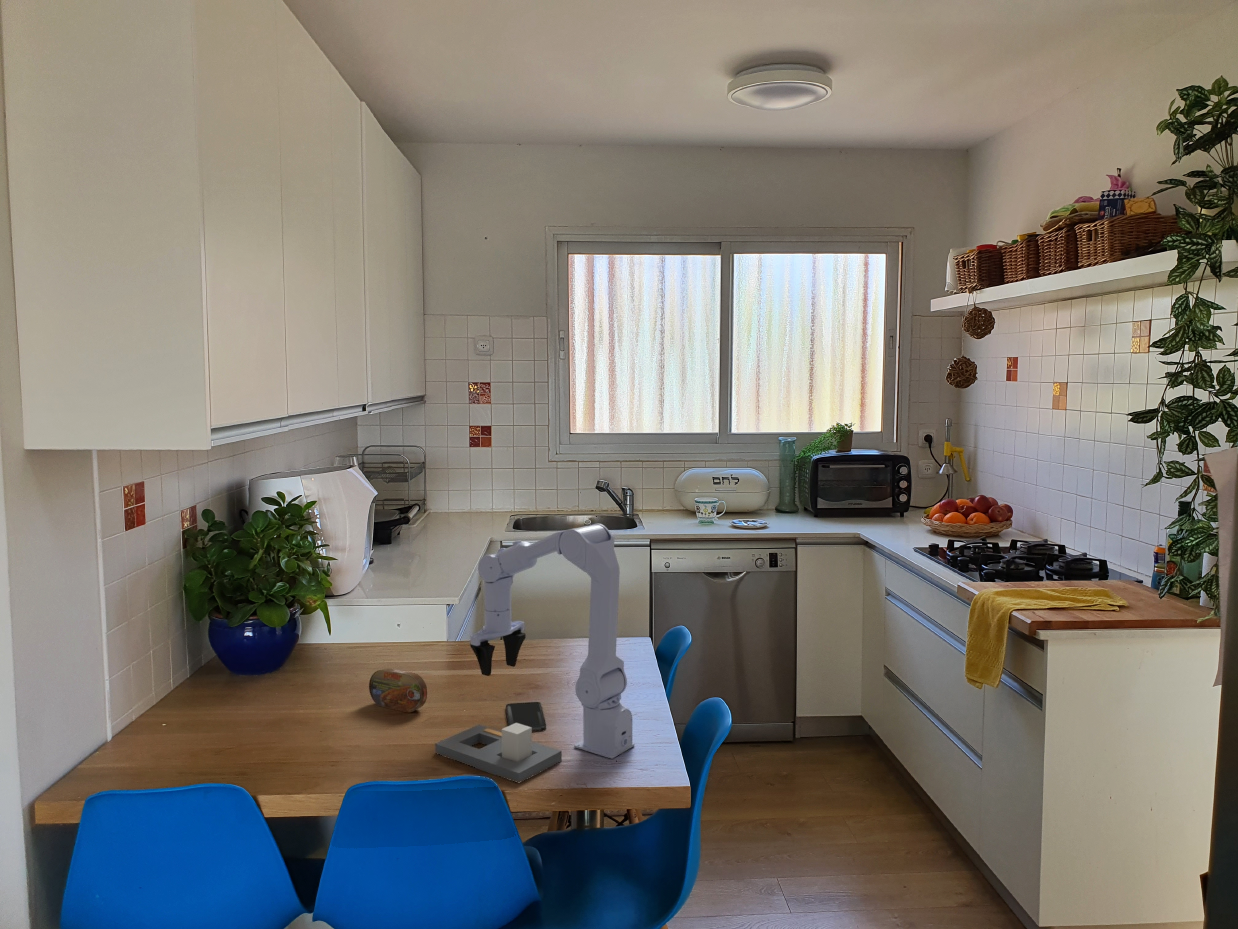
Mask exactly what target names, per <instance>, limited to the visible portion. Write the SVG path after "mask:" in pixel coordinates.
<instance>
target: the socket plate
mask: <svg viewBox="0 0 1238 929" xmlns="http://www.w3.org/2000/svg"><path fill="white" fill-rule="evenodd" d="M479 742H480V743H479ZM482 743H483V744H482ZM474 744H475V745H477V744H482V745H485V744H487V745H485V746H483V747H482V748H477V747H474V746H475V745H474ZM472 745H473V746H472ZM434 749H435V751H434V753H438V754H440V755H439V756H441V755H442V756H441V757H444V756H446V757H449V758H451V759H450V760H452V759H454V760H453V761H455V760H457V761H460V762H462V763H461V764H463V763H465V764H464V765H466V764H467V765H466V766H468V765H470V766H469V767H471V766H473V767H472V768H474V767H475V768H474V769H478V770H480V771H483V772H485V773H488V774H491V775H494V776H496V775H498V776H497V777H499V776H501V777H500V778H502V777H505V778H508V779H511V780H514V781H517V782H520V781H523V780H525V779H527V778H529V777H531V776H532V775H534V776H536V775H538V774H540V773H541V772H540V771H542V772H544V771H546V770H547V769H549V768H551V767H553V766H554V764H555V765H557V764H558V762H559V763H560V762H562V760H563V759H562V756H563V755H562V754H563V753H562V750H560V749H557V748H555V747H551V746H548V745H544V744H543V743H538V742H536V741H533V740H532V756H530V757H528V758H526V759H524V760H522V761H520V762H515V761H512V760H509V759H506V758H503V757H502V730H498V729H495V728H492V727H489V726H486V725H482V724H477V725H474V726H473V727H469V728H468V729H465V730H464V731H461V732H459V733H457V734H454V735H452V736H449V737H447V738H444V739H443V740H440V741H438V742H435V743H434ZM438 754H437V755H438ZM446 757H445V758H446ZM449 758H448V759H449ZM457 761H456V762H457ZM460 762H459V763H460ZM556 763H557V764H556ZM548 767H549V768H548ZM546 768H547V769H546ZM545 769H546V770H545ZM543 770H544V771H543ZM539 772H540V773H539ZM537 773H538V774H537ZM535 774H536V775H535ZM531 778H532V777H531ZM529 779H530V778H529ZM527 780H528V779H527ZM525 781H526V780H525ZM523 782H524V781H523Z"/></svg>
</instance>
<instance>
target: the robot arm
mask: <svg viewBox="0 0 1238 929" xmlns="http://www.w3.org/2000/svg"><path fill="white" fill-rule="evenodd" d="M615 538H616V537H615V536H614V534H613V533H612V532H611V531H610V530H609V529H608V528H607V526H606V525H604V524H603V523H592V524H591V525H584V526H580V527H574V528H569V529H565V530H561V531H560V530H559V531H556V532H554V533H552V534H550V535H548V536H545V537H544V538H542V539H539V540H537V541H535V542H534V543H530V542H529V541H524V540H523V541H522V540H515V541H513V542H512V546H509V547H501V548H498V550H497V553H492V554H485V555H484V556H482V557H481V558H480V559H479V562H478V564H477V571H478V574H479V576H480V578H481V579H482V580H483V588H484V590H483V592H484V596H483V597H484V603H483V604H484V625H483V626H482V629H480V630H479V631H477V632H476V633H474V634H471V635H470V644H469V645H470V648H471V650H472V651H473V653H474V655H475V657H476V660H477V662H478V665H479V668H480V673H481V675H483V676H486V677H490V676H492V675H491V674H492V668H493V667H492V665H493V664H492V662H493V655H494V651H495V649H496V646H495V645H492V644H490V641H493V640H496V639H499V638H502V640H503V645H504V649H505V652H504V653H505V663H506V666H509V667H513V668H514V667H516V666H517V661H518V656H519V653H520V651H521V647H522V645H523V643H524V642H525V639H526V637H527V636H526V633H525V632H524V631H525V627H526V626H525V621H522V620H516V621H515V620H514V621H512V585H513V583H514V577H515V575H517V574H519V573H521V572H524V571H527V570H529V569H532V568H533V567H535V566H536V565H537V562H538V559H539V558H542V557H545V556H548V555H550V554H554V553H557V554H558V555H559V556H561V555H562V556H563V557H564V558H565V559H566V561H569V562H570V563H571V564H573V565H574V566H576V567H577V569H578V568H579V569H580V570H581V571H582V572H584V573H586V574H587V575H588V576H589V578H590V597H589V598H590V599H589V621H588V622H589V623H588V642H587V643H588V647H587V651H588V652H587V653H588V654H587V656H586V658H585V660H584V661H583V662H582V664H581V666H580V669H579V676H578V678H577V680H576V682H575V687H574V688H575V690H574V691H575V695H576V697H577V699H578V701H579V702H580V704H581V706H582V707H583V710H582V711H583V714H582V715H583V717H582V719H583V728H582V729H583V730H582V731H583V733H582V734H583V738H582V740H580V741H578V742H576V743H574V744H573V747H574V748H576V749H579V750H582V751H586V752H589V753H592V754H595V755H597V756H602V757H605V758H607V759H614V758H615V757H617V756H618V755H620V754H622V753H624V752H626V751H628V750H630V749H632V747H635V746H636V744H635V742H633V714H632V711H631V710H630V709H628V708H626V707H624V706H623V705H622V704H621V702H620V701H621V700H622V694H623V693H624V692H625V691H626V688H627V686H628V678H627V675H626V672H625V668H624V666H625V661H624V660H623V659H622V658H620V657H619V656H618V655H617V637H618V615H619V612H618V611H619V594H620V593H619V591H620V573H621V572H620V565H619V562H618V561H619V560H618V558H617V556H616V555H617V554H616V552H615Z"/></svg>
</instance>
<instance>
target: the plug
mask: <svg viewBox="0 0 1238 929" xmlns="http://www.w3.org/2000/svg"><path fill="white" fill-rule="evenodd" d="M501 732H502V757H503V758H506V759H509V760H512V761H515V762H520V761H522V760H524V759H526V758H528V757H530V756H532V741H533V734H532V733H533V732H532V727H528V726H525V725H522V724H519V723H514V724H512V725H510V726H508V725H507V726H506V727H503V728H502V729H501Z"/></svg>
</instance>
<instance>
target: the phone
mask: <svg viewBox="0 0 1238 929" xmlns="http://www.w3.org/2000/svg"><path fill="white" fill-rule="evenodd" d="M505 712H506V718H507V727H508V726H510V725H512V724H514V723H519V724H522V725H525V726H528V727H532V733H533V731H534V732H543V730H544V731H546V730H547V723H546V718H545V714H544V711H543V706H542V703H541V702H540V701H529V702H528V701H527V702H514V703H513V702H510V703H507V704H505ZM545 729H546V730H545Z"/></svg>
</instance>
